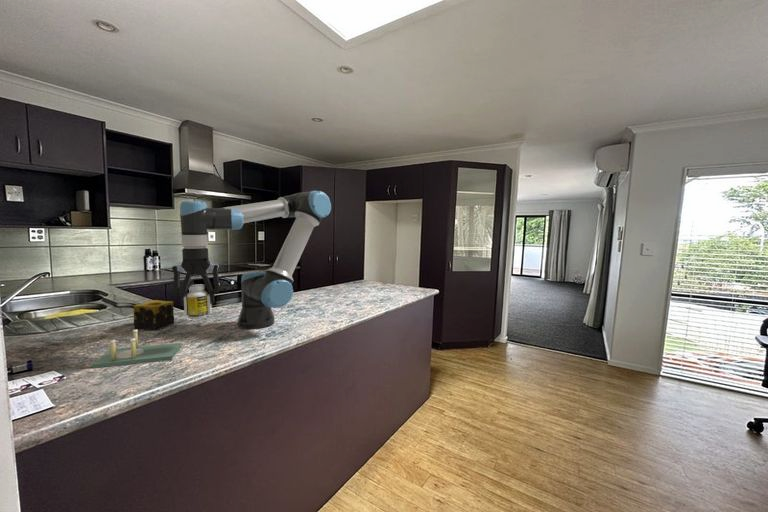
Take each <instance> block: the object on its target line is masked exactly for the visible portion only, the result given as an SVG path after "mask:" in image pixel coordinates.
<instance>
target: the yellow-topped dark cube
mask: <svg viewBox="0 0 768 512" xmlns="http://www.w3.org/2000/svg"><path fill="white" fill-rule="evenodd" d="M132 307H133V326H134V327H133V328H134V330H136V329H137V330H141V329H144V330H143V331H154V330H155V331H158V330H160V328H161V329H163V327H164V328H166V327H168V326H171V324H172V325H174V323H175V314H174V310H175V309H174V301H171V300H168V301H167V300H158V299H153V300H149V301H146V302H142V303H138V304H134V305H133V306H132ZM157 329H158V330H157Z"/></svg>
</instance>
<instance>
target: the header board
mask: <svg viewBox="0 0 768 512" xmlns="http://www.w3.org/2000/svg"><path fill="white" fill-rule="evenodd" d="M138 332H139V329H132V338H130V340H129V343H130V347H123V348H116V347H117V346H116V345H117V344H116V341H117V340H116V339H111V340H109V345H110V350H108V352H106V353H105V354H103V355H102V356H101V357H100V358H98V359H97V360H96V361H94V362H93V363H92V365H91V367H92V369H97V368H106V367H108V368H109V367H115V366H116V367H118V366H125V365H127V366H128V365H135V364H137V365H138V364H143V363H144V364H146V363H155V362H163V361H172V360H173V359H174V358H175V356H176V354H178V352H179V351H180V349H181V348H182V347H183V343H182V342H177V343H175V342H174V343H165V344H153V345H143V346H139V338H138V337H139V336H138V335H139V334H138Z"/></svg>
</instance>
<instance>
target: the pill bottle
mask: <svg viewBox="0 0 768 512" xmlns="http://www.w3.org/2000/svg"><path fill="white" fill-rule="evenodd" d="M188 290H189V292H187V293H186V295H187V305H188V316H187V317H188V319H190V320H198V319H199V320H201V319H204V318H207V317H209V315H210V314H208V306H207V295H208V294H209V292H208V291H206V285H205V284H201V283H200V284H191V285H188Z"/></svg>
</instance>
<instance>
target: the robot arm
mask: <svg viewBox="0 0 768 512" xmlns="http://www.w3.org/2000/svg"><path fill="white" fill-rule="evenodd" d="M331 211H332V202H331V200H330V197H329V196H328V194H326V193H325V192H324V191H321V190H311V191H303V192H297V193H294V194H290V195H285V196H280V197H278V198H277V199H274V200H268V201H267V200H266V201H260V202H253V203H247V204H240V205H232V206H226V207H219V208H218V207H217V208H215V207H214V208H211V207H208V206H207V203H206V202H204V201H199V200H198V201H197V200H184V201H181V202H180V203H179V219H180V220H179V221H180V228H181V229H180V231H181V233H180V234H181V237H180V238H181V246H182V247H183V248H182V249H181V252H182V253H181V254H182V255H181V256H182V262H181V263H180V264H177V265H173V266H172V267H171V269H172V272H173V289H172V290H173V291H172V294H173V295H174V296H178V297H179V301H180V303H179V304H180V306H181V307H184V308H183V310H184V311H183V313H184V317H188V305H187V291H188V289H189V286H190V282H191V278H192V276H195V275H197V276H201V278H202V280H203V282H204V285H205V288H206V290H207V293H208V295H207V306H208V314H209V315H211V314H212V312H213V311H212V305H214V303H215V295H216V294H218V293H220V291H221V287H220V286H221V285H220V279H219V273H218V271H219V268H220V265H219V264H218V263H216V264H215V263H211V262H210V260H209V248H208V246H209V242H208V240H209V239H208V230H209V231H210V230H211V231H212V230H216V231H218V230H219V231H222V230H223V231H226V230H227V231H235V230H236V231H237V230H241V229H242V228H243V226H244V224H247V223H252V222H259V221H264V220H269V219H274V218H280V217H281V218H283V219H285V218H295V220H294V222H293V224H292V226H291V228H290V230H289V232H288V233H287V234H288V235H287V236H286V238H285V240H284V242H283V244H282V247H281V249H280V251H279V252H278V255H277V257H276V260H275V261H274V263H273V266H272V267H270V268H268V269H266V271H261V272H259V271H257V272H248V273H243V274H242V275H241V281H240V284H241V285H240V286H241V310H240V312H239V315H238V319H237V327H238V328H241V329H245V330H246V329H247V330H250V329H252V330H255V329H256V330H257V329H264V328H267V327H270V326H272V325H274V324H275V314H274V313H273V310H272V308H273V309H279V308H282V307H284V306H287V304H288V303H289V302H290V301H291V300H292V298H293V296H294V289H293V285H292V284H293V283H294V278H293V274H294V272H295V269H296V267H297V265H298V263H299V262H300V259H301V256H302V254H303V252H304V250H305V247H306V246H307V244H308V241H309V240H310V237H311V235H312V232H313V230H314V228H315V227H317V226H319V225H320V223H321V221H322V219H323V218H326V217H327V216H328V217H329V214H330V213H331ZM209 268H210V269H211V271H212V278H213V284H214V287H213V285H212V283H211V281H210V278H209V275H208V273H207V270H208V269H209ZM182 269H183V270H184V271H185V272H186V273H185V278H184V281H183V283H182V287H181V290H180V284H181V271H182Z"/></svg>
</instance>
